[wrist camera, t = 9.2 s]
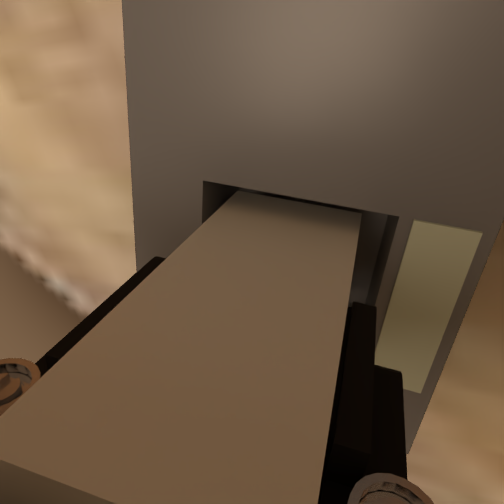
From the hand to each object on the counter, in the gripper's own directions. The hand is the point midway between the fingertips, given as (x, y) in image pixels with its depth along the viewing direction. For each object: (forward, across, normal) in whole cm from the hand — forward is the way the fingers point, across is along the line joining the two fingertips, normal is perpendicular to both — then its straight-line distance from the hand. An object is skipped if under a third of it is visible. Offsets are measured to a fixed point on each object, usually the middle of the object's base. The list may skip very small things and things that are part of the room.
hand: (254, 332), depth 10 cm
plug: (+4, 0, 0) cm, 4 cm away
